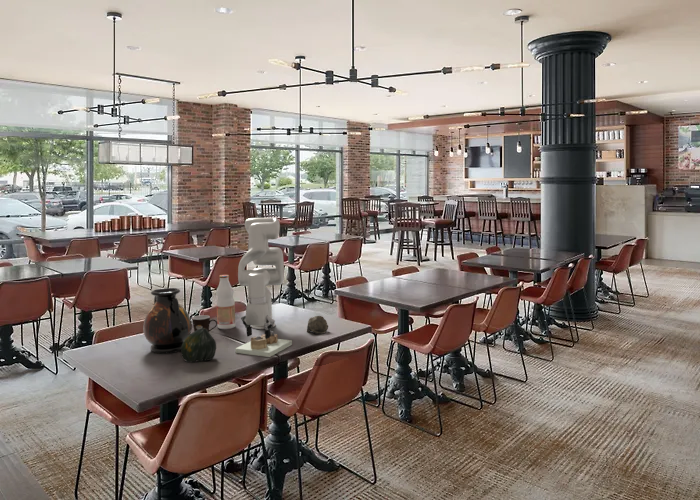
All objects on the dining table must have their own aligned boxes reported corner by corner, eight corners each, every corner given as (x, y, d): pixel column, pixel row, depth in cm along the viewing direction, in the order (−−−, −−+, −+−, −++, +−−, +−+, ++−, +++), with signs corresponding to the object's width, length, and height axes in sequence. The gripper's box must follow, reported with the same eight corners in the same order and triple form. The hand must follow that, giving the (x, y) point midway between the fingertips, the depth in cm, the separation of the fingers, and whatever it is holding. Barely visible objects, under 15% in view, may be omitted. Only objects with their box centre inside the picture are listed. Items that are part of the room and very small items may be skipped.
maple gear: (247, 348, 254) (247, 339, 254) (256, 344, 261) (255, 335, 260) (261, 350, 251) (261, 341, 251) (269, 345, 258) (269, 337, 257)
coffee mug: (189, 338, 280) (188, 318, 279) (201, 333, 288) (200, 314, 286) (207, 340, 275) (206, 320, 273) (219, 336, 282) (218, 316, 281)
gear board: (235, 352, 255) (234, 337, 254) (259, 340, 273) (259, 326, 272) (269, 357, 247) (268, 341, 247) (292, 344, 266) (291, 329, 265)
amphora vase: (202, 347, 263) (198, 289, 260) (160, 359, 247) (156, 297, 244) (177, 339, 278) (174, 284, 274) (136, 350, 262) (131, 291, 258)
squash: (170, 348, 244) (184, 326, 238) (197, 341, 257) (211, 320, 250) (187, 374, 239) (202, 352, 233) (213, 365, 252) (229, 344, 245)
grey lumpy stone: (318, 335, 279) (310, 316, 280) (306, 340, 285) (299, 322, 286) (332, 329, 287) (325, 311, 289) (321, 335, 293) (314, 317, 295)
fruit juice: (222, 330, 293) (220, 277, 290) (214, 327, 300) (211, 275, 297) (238, 327, 299) (236, 275, 296) (230, 323, 306) (228, 273, 303)
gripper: (236, 300, 253) (237, 337, 256) (269, 303, 246) (270, 341, 249) (245, 296, 260) (247, 332, 263) (277, 299, 253) (279, 336, 256)
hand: (258, 336), depth 256 cm, fingers open, 9 cm apart
